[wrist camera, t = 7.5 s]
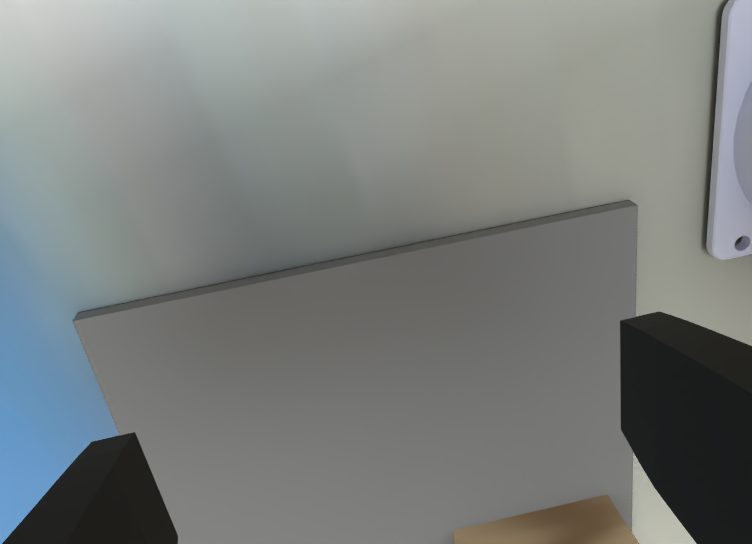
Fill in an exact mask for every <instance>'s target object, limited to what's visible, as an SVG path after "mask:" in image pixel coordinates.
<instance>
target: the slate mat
mask: <svg viewBox="0 0 752 544" xmlns="http://www.w3.org/2000/svg"><path fill="white" fill-rule="evenodd" d="M637 206H638V205H636V204H635V203H633V202H632V201H630V200H627V201H622V202H617V203H612V204H608V205H603V206H598V207H593V208H588V209H583V210H578V211H573V212H568V213H564V214H559V215H554V216H549V217H544V218H539V219H534V220H529V221H524V222H520V223H515V224H510V225H505V226H500V227H495V228H490V229H485V230H481V231H476V232H471V233H466V234H461V235H456V236H451V237H446V238H441V239H437V240H432V241H427V242H422V243H417V244H412V245H407V246H402V247H397V248H393V249H388V250H383V251H378V252H373V253H368V254H363V255H358V256H353V257H349V258H344V259H339V260H334V261H329V262H324V263H319V264H314V265H309V266H305V267H300V268H295V269H290V270H285V271H280V272H275V273H270V274H265V275H261V276H256V277H251V278H246V279H241V280H236V281H231V282H226V283H222V284H217V285H212V286H207V287H202V288H197V289H192V290H187V291H182V292H178V293H173V294H168V295H163V296H158V297H153V298H148V299H143V300H138V301H134V302H129V303H124V304H119V305H114V306H109V307H104V308H99V309H94V310H90V311H85V312H80V313H77V315H76V316H75V318H74V320H73V323H74V325H75V328H76V330H77V333H78V335H79V337H80V340H81V342H82V345H83V347H84V350H85V352H86V354H87V357H88V359H89V362H90V364H91V367H92V369H93V371H94V374H95V376H96V379H97V381H98V384H99V386H100V388H101V391H102V393H103V396H104V398H105V401H106V403H107V405H108V408H109V410H110V413H111V415H112V418H113V420H114V422H115V425H116V427H117V430H118V432H119V435H124V434H128V433H133V432H135V433H136V436H137V438H138V440H139V443H140V445H141V448H142V450H143V453H144V455H145V457H146V460H147V462H148V465H149V467H150V469H151V472H152V474H153V477H154V479H155V481H156V484H157V486H158V489H159V491H160V494H161V496H162V498H163V501H164V503H165V506H166V508H167V510H168V513H169V515H170V518H171V520H172V523H173V525H174V527H175V530H176V532H177V535H178V544H455V540H454V533H453V530H457V529H462V528H466V527H470V526H474V525H479V524H483V523H487V522H491V521H496V520H500V519H504V518H508V517H513V516H517V515H521V514H525V513H530V512H534V511H538V510H543V509H547V508H551V507H555V506H560V505H564V504H568V503H572V502H577V501H581V500H585V499H589V498H594V497H598V496H602V495H606V494H607V495H608V496H609V498H610V499H611V501H612V502H613V504H614V506H615V507H616V509H617V510H618V512H619V513H620V515H621V516H622V518H623V520H624V521H625V523H626V524H627V526H628V527H629V529H630V530H631V532H632V484H633V450H632V448H631V447H630V445H629V443H628V441H627V440H626V438H625V436H624V434H623V432H622V431H621V391H620V320H625V319H629V318H633V317H636V261H637Z"/></svg>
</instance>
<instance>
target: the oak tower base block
mask: <svg viewBox="0 0 752 544" xmlns="http://www.w3.org/2000/svg"><path fill="white" fill-rule="evenodd" d="M453 533H454V540H455V544H639V543H638V541H637V540H636V538H635V537H634V535H633V533H632V532H631V530H630V529H629V527H628V526H627V524H626V523H625V521H624V520H623V518H622V516H621V515H620V513H619V512H618V510H617V509H616V507H615V506H614V504H613V502H612V501H611V499H610V498H609V496H608V495H607V494H606V495H602V496H598V497H594V498H589V499H585V500H581V501H577V502H572V503H568V504H564V505H560V506H555V507H551V508H547V509H543V510H538V511H534V512H530V513H525V514H521V515H517V516H513V517H508V518H504V519H500V520H496V521H491V522H487V523H483V524H479V525H474V526H470V527H466V528H462V529H457V530H453Z"/></svg>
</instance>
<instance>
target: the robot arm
mask: <svg viewBox="0 0 752 544" xmlns="http://www.w3.org/2000/svg"><path fill="white" fill-rule="evenodd" d="M741 236H742V239H741V242H740V243H739V244H738V245H735V242H736V240H737V239H738V238H739V237H741ZM706 247H707V251H708V252H709V254H710V255H712V256H713V257H715V258H717V259H719V260H727V259H732V258H737V257H741V256H746V255H751V254H752V0H729V1H728V2H727V4H726V6H725V7H724V10H723V14H722V23H721V37H720V52H719V67H718V81H717V96H716V111H715V125H714V140H713V155H712V169H711V184H710V199H709V213H708V228H707V243H706ZM620 391H621V431H622V432H623V434H624V436H625V438H626V440H627V441H628V443H629V445H630V447H631V448H632V450H633V452H634V454H635V456H636V457H637V459H638V461H639V463H640V464H641V466H642V468H643V469H644V471H645V473H646V474H647V476H648V478H649V479H650V481H651V483H652V484H653V486H654V488H655V489H656V490H657V492H658V493H659V494H660V496H661V497H662V498H663V500H664V501H665V502H666V504H667V505H668V506H669V508H670V509H671V510H672V512H673V513H674V514H675V516H676V517H677V518H678V520H679V521H680V522H681V523H682V525H683V526H684V527H685V529H686V530H687V531H688V533H689V534H690V535H691V537H692V538H693V539H694V540H695V542H696V543H697V544H752V346H750V345H747V344H745V343H742V342H740V341H737V340H735V339H732V338H730V337H727V336H725V335H722V334H720V333H717V332H715V331H712V330H709V329H707V328H704V327H702V326H699V325H697V324H694V323H691V322H689V321H686V320H683V319H680V318H677V317H675V316H672V315H668V314H665V313H662V312H655V313H651V314H647V315H642V316H638V317H633V318H629V319H625V320H620ZM2 544H178V535H177V532H176V530H175V527H174V525H173V523H172V520H171V518H170V515H169V513H168V510H167V508H166V506H165V503H164V501H163V498H162V496H161V494H160V491H159V489H158V486H157V484H156V481H155V479H154V477H153V474H152V472H151V469H150V467H149V465H148V462H147V460H146V457H145V455H144V453H143V450H142V448H141V445H140V443H139V440H138V438H137V436H136V433H135V432H133V433H128V434H124V435H120V436H115V437H111V438H107V439H102V440H98V441H94V442H91V443H90V444H89V446H88V447H87V448H86V449H85V450H84V451H83V452H82V453H81V454H80V455H79V456H78V457H77V458H76V459H75V461H74V462H73V463H72V464H71V465H70V466H69V467H68V468H67V470H66V471H65V472H64V473H63V474H62V475H61V477H60V478H59V479H58V480H57V481H56V482H55V483H54V485H53V486H52V487H51V488H50V489H49V490H48V492H47V493H46V494H45V495H44V496H43V497H42V499H41V500H40V501H39V502H38V503H37V504H36V506H35V507H34V508H33V509H32V510H31V511H30V513H29V514H28V515H27V516H26V517H25V518H24V519H23V521H22V522H21V523H20V524H19V525H18V526H17V527H16V529H15V530H14V531H13V532H12V533H11V534H10V535H9V537H8V538H7V539H6V540H5V541H4V542H3V543H2Z"/></svg>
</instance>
